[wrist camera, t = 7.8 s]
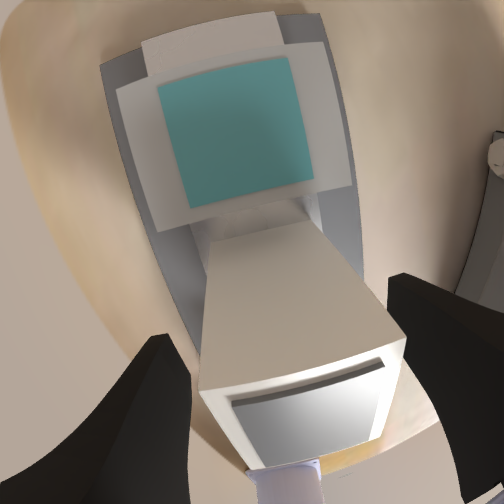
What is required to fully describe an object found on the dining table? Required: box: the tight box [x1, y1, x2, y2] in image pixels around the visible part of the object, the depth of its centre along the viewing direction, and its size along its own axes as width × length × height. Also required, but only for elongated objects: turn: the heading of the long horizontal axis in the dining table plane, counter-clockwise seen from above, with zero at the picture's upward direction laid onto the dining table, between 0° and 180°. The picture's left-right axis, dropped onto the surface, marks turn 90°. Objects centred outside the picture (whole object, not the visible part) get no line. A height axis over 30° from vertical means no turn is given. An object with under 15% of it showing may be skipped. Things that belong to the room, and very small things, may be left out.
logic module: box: [198, 220, 407, 470], centre depth 9 cm, size 4×4×7 cm
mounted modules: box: [116, 42, 352, 232], centre depth 11 cm, size 16×6×2 cm, turn 13°
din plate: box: [100, 13, 364, 355], centre depth 13 cm, size 21×9×1 cm, turn 13°
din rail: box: [141, 11, 323, 275], centre depth 12 cm, size 21×5×1 cm, turn 13°
